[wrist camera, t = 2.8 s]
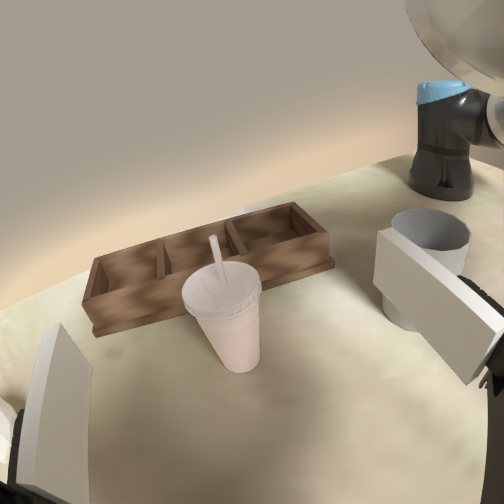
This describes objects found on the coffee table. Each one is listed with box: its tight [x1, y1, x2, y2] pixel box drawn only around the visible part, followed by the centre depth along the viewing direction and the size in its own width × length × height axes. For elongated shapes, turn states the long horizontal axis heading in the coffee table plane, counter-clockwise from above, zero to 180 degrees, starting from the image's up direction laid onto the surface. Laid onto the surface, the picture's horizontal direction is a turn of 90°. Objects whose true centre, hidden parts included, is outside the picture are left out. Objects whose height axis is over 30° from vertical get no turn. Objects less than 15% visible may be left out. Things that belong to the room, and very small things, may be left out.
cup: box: [382, 208, 471, 333], centre depth 28 cm, size 8×8×10 cm
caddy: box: [82, 202, 335, 337], centre depth 40 cm, size 32×12×5 cm, turn 106°
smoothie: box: [182, 235, 262, 373], centre depth 25 cm, size 6×6×14 cm
